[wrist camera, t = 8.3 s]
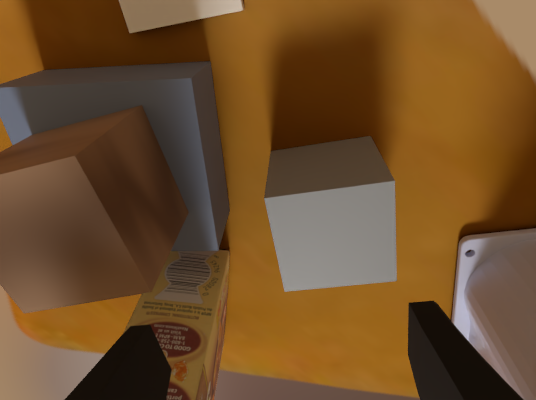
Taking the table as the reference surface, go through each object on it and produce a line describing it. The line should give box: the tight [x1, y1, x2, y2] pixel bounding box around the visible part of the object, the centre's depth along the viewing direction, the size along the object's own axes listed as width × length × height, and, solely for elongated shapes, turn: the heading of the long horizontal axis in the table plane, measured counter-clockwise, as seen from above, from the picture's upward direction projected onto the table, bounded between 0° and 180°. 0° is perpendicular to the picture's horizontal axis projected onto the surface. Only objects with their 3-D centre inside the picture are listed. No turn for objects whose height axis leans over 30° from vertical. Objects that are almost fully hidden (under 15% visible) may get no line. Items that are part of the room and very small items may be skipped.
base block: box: [0, 61, 230, 251], centre depth 17 cm, size 8×8×4 cm
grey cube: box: [264, 136, 397, 292], centre depth 17 cm, size 5×5×5 cm
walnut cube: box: [0, 105, 189, 313], centre depth 13 cm, size 5×5×5 cm
